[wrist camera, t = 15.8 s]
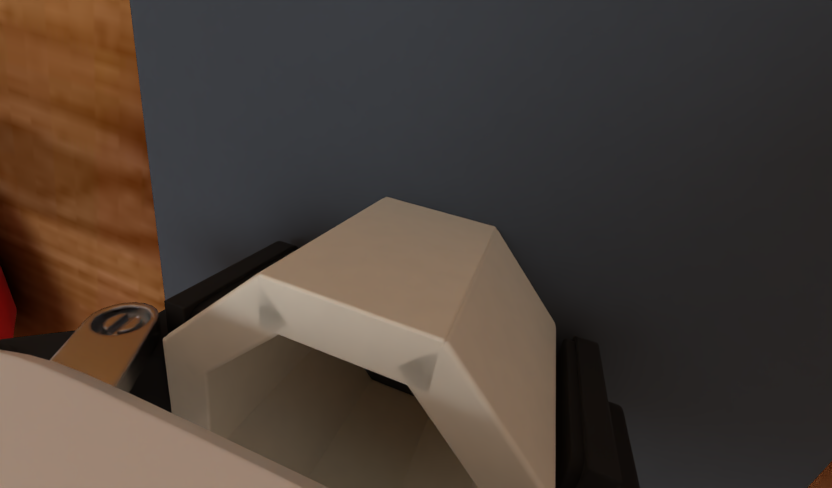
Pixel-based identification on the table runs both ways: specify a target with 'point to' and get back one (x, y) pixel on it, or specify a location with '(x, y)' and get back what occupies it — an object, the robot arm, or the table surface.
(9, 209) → the table surface
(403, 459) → the octagonal ring
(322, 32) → the rubber mat
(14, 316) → the tomato
